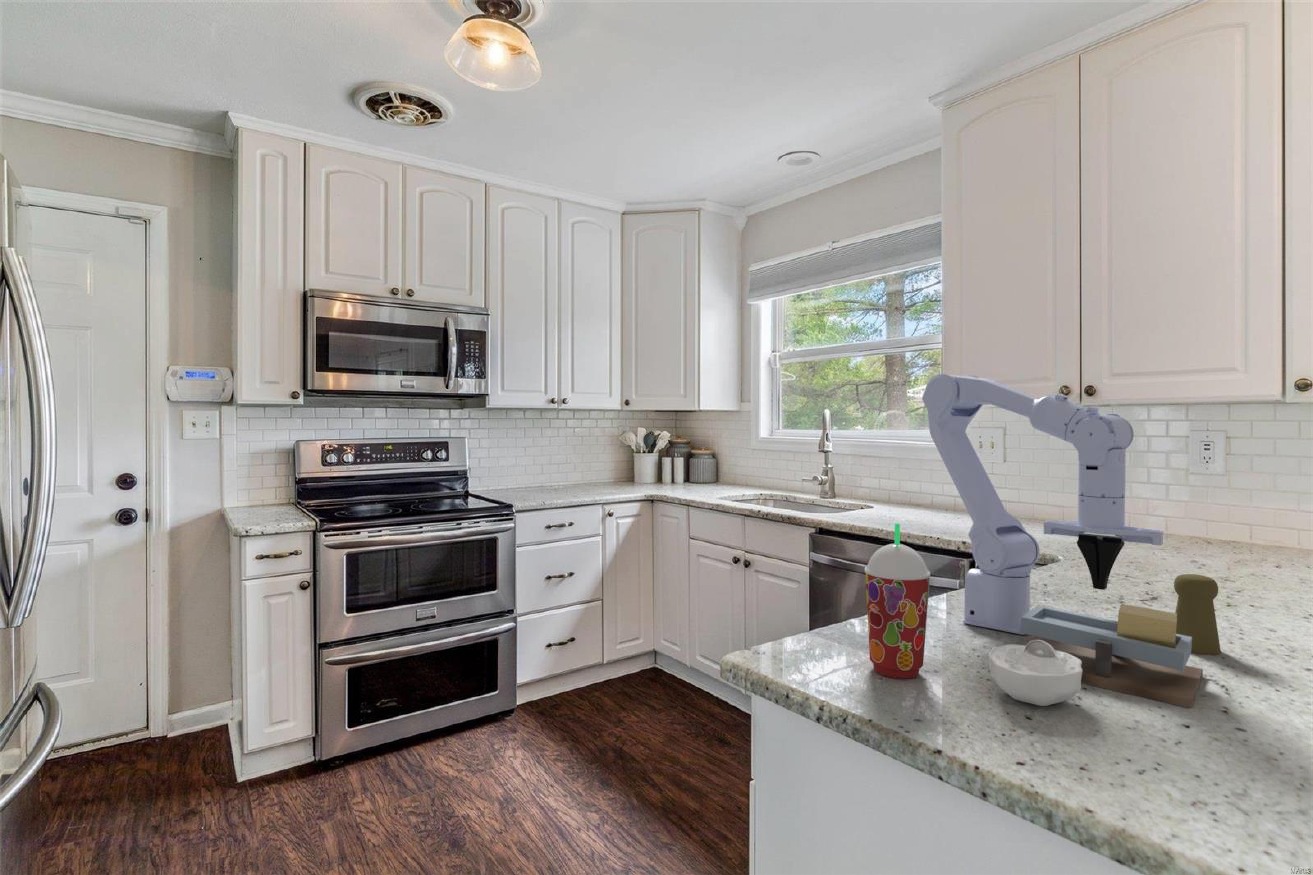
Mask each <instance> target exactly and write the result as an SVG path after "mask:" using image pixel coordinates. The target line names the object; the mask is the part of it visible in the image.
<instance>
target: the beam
mask: <svg viewBox="0 0 1313 875" xmlns="http://www.w3.org/2000/svg"><path fill="white" fill-rule="evenodd" d="M1117 627H1118V620H1113V619H1108V618H1102V617H1096V616H1094V615H1090V614H1089V615H1088V614H1083V613H1080V612H1079V613H1078V612H1074V611H1070V610H1069V611H1068V610H1066V609H1065V610H1063V609H1060V608H1054V607H1049V606H1044V605H1041V604H1039V605H1037V606H1035V607H1034V608H1032V609H1030V611H1029V612H1028V613H1026V614H1025V615H1023V616H1022V617H1021V628H1020V632H1021V633H1025V635H1029V636H1033V637H1034V636H1037V637H1042V638H1046V639H1050V640H1054V641H1058V642H1063V643H1067V644H1071V645H1075V646H1079V647H1084V648H1088V649H1092V650H1095V649H1096V640H1102V641H1107V642H1112V654H1113V655H1117V656H1121V657H1126V658H1130V659H1134V660H1138V661H1143V662H1147V663H1151V664H1155V665H1159V666H1164V667H1168V668H1172V669H1176V670H1180V671H1183V670H1184V668H1185V666H1187V663H1188V661H1189V659H1190V657H1191V655H1192V653H1191V647H1192V637H1190V636H1185V635H1180V634H1176V639H1175V649H1174V648H1170V647H1165V646H1161V645H1156V644H1152V643H1147V642H1143V641H1138V640H1133V639H1129V638H1124V637H1120V636H1117Z"/></svg>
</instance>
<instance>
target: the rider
mask: <svg viewBox="0 0 1313 875" xmlns="http://www.w3.org/2000/svg"><path fill="white" fill-rule="evenodd" d="M1117 622H1118V627H1117V636H1120V637H1124V638H1129V639H1133V640H1138V641H1143V642H1147V643H1152V644H1156V645H1161V646H1165V647H1170V648H1174V649H1175V639H1176V626H1177V613H1175V612H1171V611H1166V610H1159V609H1155V608H1154V609H1153V608H1147V607H1142V606H1136V605H1129V604H1124V603H1120V606H1119V609H1118V614H1117Z"/></svg>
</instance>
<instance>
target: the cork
mask: <svg viewBox="0 0 1313 875" xmlns="http://www.w3.org/2000/svg"><path fill="white" fill-rule="evenodd" d="M1173 588H1174V590H1175V593H1176V594H1177V595H1178V596H1177V602H1176V606H1175V612H1174V613H1177V626H1176V634H1180V635H1185V636H1190V637H1192V647H1191V654H1198V655H1206V656H1218V655H1221V653H1222V652H1221V651H1222V649H1221V644H1220V638H1219V631H1218V625H1217V624H1218V623H1217V618H1216V611H1215V609H1216V608H1215V605H1214V599H1216V597H1217V596H1218V595H1219V586H1218V583H1217V581H1216V580H1215V579H1214V578H1212V577H1210V576H1206V575H1202V574H1198V573H1197V574H1196V573H1183V574H1179V575H1177V576H1176V577H1175V579H1174V582H1173Z"/></svg>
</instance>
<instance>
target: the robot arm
mask: <svg viewBox="0 0 1313 875" xmlns="http://www.w3.org/2000/svg"><path fill="white" fill-rule="evenodd" d="M921 400H922V402H923V404H924V405H925V406H924V407H925V409H926V410H927V414H928V415H927V416H928V427H929V428H928V429H929V434H930V437H931V439H932V441H933V444H934V445H935V447H936V449H937V451H938V453H939V455H940V457H941V459H942V462H943V464H944V466H945V468H946V469H947V472H948V473H949V476H950V477H951V480H952V481H953V484H954V486H955V487H956V490H957V491H958V494H959V496H960V498H961V500H962V502H963V504H964V507H965V509H966V510H967V512H968V515H969V516H970V519H971V521H972V525H971V526H970V529H969V532H968V533H967V534H968V538H969V540H970V542H971V546H972V552H971V553H972V557H973V560H974V561H975V563H976V565H977V566H978V568H970V569H969V570H968V572H967V574H966V577H965V581H964V611H963V612H964V615H963V616H964V619H963V620H962V623H963V624H966V625H972V626H977V627H982V628H987V629H991V630H998V631H1002V632H1006V633H1013V634H1017V635H1021V636H1023V635H1026V634H1025V633H1021V632H1020V628H1021V617H1022V616H1023V615H1025V614H1026V613H1028V612H1029V611H1031V572H1032V566H1033V565H1035V564H1036V562H1037V561H1038V559H1039V557H1040V552H1041V551H1040V546H1039V543H1038V541H1037V539H1036V538H1035V537H1034V536H1033V535H1032V534H1031V533H1030V532H1029V531H1027V530H1026V529H1025V527H1024V526H1023V524H1022V522H1021V520H1019V519H1018V518H1016V517H1015V516H1014V515H1012V514H1011V513H1009V512H1008V511H1007V510H1006V508H1005V507H1004V505H1003V503H1002V501H1001V499H1000V497H999V494H998V493H997V491H996V489H995V487H994V485H993V483H992V481H991V479H990V477H989V475H988V474H987V472H986V470H985V468H984V465H983V464H982V462H981V460H980V458H979V456H978V454H977V452H976V450H975V449H974V447H973V445H972V442H971V440H970V438H969V437H968V435H967V433H966V431H967V428H968V426H969V425H970V423H971V421H973V419H974V418H975V416H976V415H977V414H978V412H979V411H980V410H981V408H982V407H983V405H987V406H988V405H991V406H996V407H998V408H1000V409H1004V410H1006V411H1009V412H1012V413H1014V414H1018V415H1021V416H1022V417H1023V416H1024V417H1026V418H1028V420H1029V422H1030V425H1031V426H1032V428H1033V429H1035V430H1037V431H1040V432H1042V433H1045V434H1047V435H1050V436H1053V437H1055V438H1057V439H1059V440H1063V441H1065V442H1067V443H1069V444H1072V445H1073V447H1074V448H1075V449H1076V451H1077V453H1078V490H1077V491H1078V496H1077V497H1078V498H1077V501H1078V502H1077V504H1078V505H1077V510H1078V511H1077V522H1076V521H1060V520H1058V521H1057V520H1045V521H1043V534H1044V535H1056V536H1065V537H1066V536H1068V537H1075V538H1076V537H1078V538H1077V540H1076V544H1077V545H1076V546H1077V547H1078V550H1080V553H1081V555H1082V556H1083V558H1084V561H1085V564H1086V566H1087V568H1088V571H1089V574H1090V578H1091V582H1092V583H1091V584H1092V589H1095V590H1101V591H1103V590H1104V591H1105V590H1106V589H1107V588H1108V584H1109V578H1110V575H1111V571H1112V569H1113V566H1114V564H1115V562H1116V560H1117V558H1118V556H1119V555H1120V552H1121V551H1122V549H1123V547H1124V546H1125V542H1127V543H1138V544H1147V545H1152V546H1158V547H1159V546H1163V545H1164V530H1160V529H1150V528H1143V527H1135V526H1125V521H1126V519H1125V518H1126V517H1125V516H1126V515H1125V511H1126V510H1125V508H1126V450H1127V449H1128V448H1129V447H1130V446H1131V445H1132V442H1133V439H1134V429H1133V427H1132V425H1131V423H1130V422H1129V421H1128V420H1127V419H1125V418H1124V417H1121V416H1120V415H1119V414H1117V413H1106V414H1100V413H1099V408H1098V407H1095V406H1092V405H1091V406H1090V405H1088V407H1085V406H1084V405H1080V404H1077V403H1074V402H1072V401H1069V396H1068V395H1065V394H1060V393H1058V394H1057V393H1056V394H1055V395H1050V394H1049V395H1045V396H1043V397H1041V398H1037V397H1034V396H1032V395H1029V394H1026V393H1024V392H1023V391H1019V390H1018V389H1015V388H1012V387H1011V386H1008V385H1005V384H1003V383H1000V382H998V381H996V380H992V379H990V378H984V377H980V376H978V375H977V376H976V375H959V374H958V375H956V374H948V373H938V374H935V375H933V376H932V377H931V378H930V379H929V380H928V382H927V384H926V386H925V388H924V392H923V394H922V397H921Z"/></svg>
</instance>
